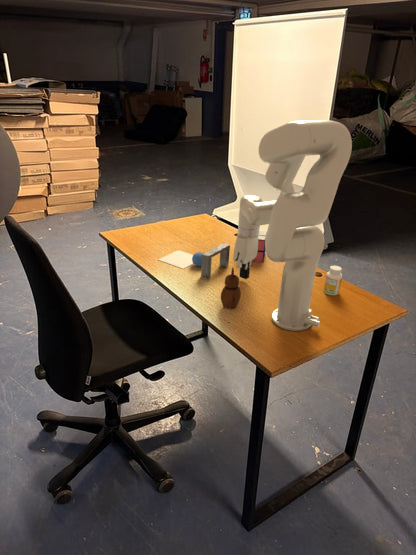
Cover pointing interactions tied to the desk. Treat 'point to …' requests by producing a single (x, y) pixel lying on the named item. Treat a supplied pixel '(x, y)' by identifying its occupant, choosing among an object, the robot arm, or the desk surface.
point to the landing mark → (178, 259)
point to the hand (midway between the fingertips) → (244, 277)
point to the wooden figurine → (231, 291)
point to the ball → (197, 259)
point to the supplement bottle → (333, 280)
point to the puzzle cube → (260, 247)
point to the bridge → (208, 255)
